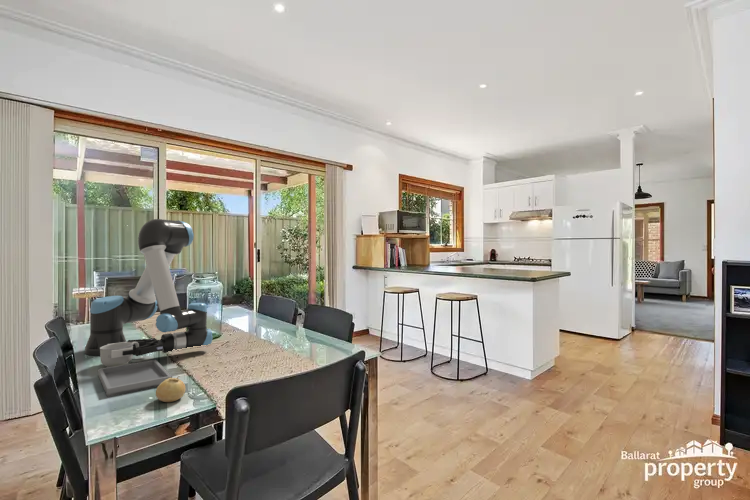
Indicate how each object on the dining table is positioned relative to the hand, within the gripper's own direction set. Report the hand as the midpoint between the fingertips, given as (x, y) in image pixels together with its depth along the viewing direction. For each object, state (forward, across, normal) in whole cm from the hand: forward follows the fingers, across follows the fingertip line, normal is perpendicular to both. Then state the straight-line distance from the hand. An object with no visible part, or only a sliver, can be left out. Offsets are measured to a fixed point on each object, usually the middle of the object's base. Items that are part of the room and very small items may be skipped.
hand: (109, 351), depth 143 cm
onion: (-10, -48, -6) cm, 49 cm away
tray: (-5, -22, -6) cm, 23 cm away
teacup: (-4, 0, -6) cm, 7 cm away
